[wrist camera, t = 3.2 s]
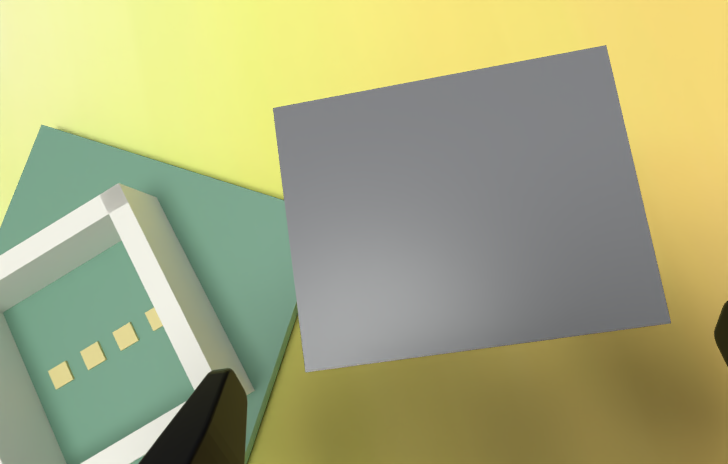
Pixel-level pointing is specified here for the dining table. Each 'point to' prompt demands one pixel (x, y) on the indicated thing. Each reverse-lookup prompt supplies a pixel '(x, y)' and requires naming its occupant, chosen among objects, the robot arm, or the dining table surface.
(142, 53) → the dining table surface
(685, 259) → the dining table surface
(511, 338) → the grey rectangular block
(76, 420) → the header board
